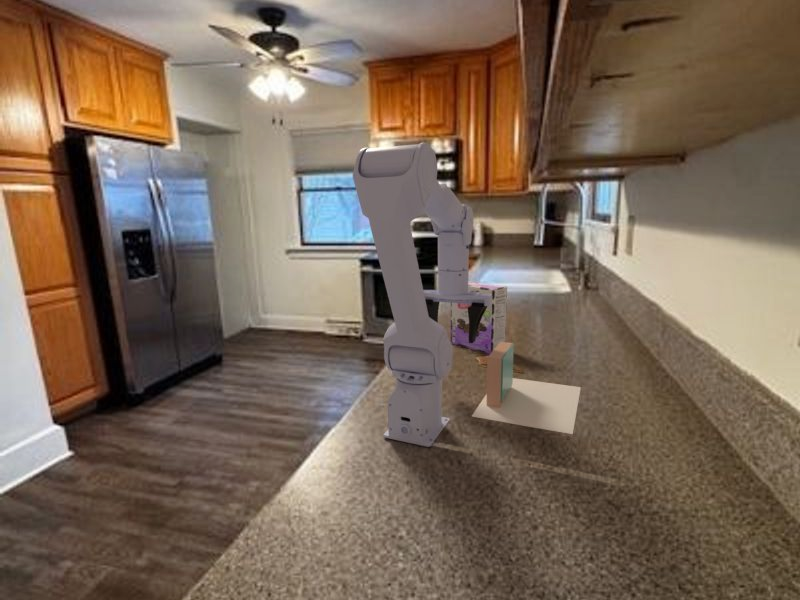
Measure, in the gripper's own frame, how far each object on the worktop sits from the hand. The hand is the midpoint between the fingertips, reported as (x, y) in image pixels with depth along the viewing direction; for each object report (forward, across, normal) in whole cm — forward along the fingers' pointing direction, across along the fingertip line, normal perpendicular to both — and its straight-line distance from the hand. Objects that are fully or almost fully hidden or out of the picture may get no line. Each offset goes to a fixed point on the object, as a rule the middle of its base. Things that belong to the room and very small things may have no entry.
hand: (452, 339), depth 86 cm
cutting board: (+10, -15, +1) cm, 18 cm away
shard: (+11, -6, -17) cm, 21 cm away
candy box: (+10, +3, -29) cm, 31 cm away
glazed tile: (+10, -10, +1) cm, 14 cm away
